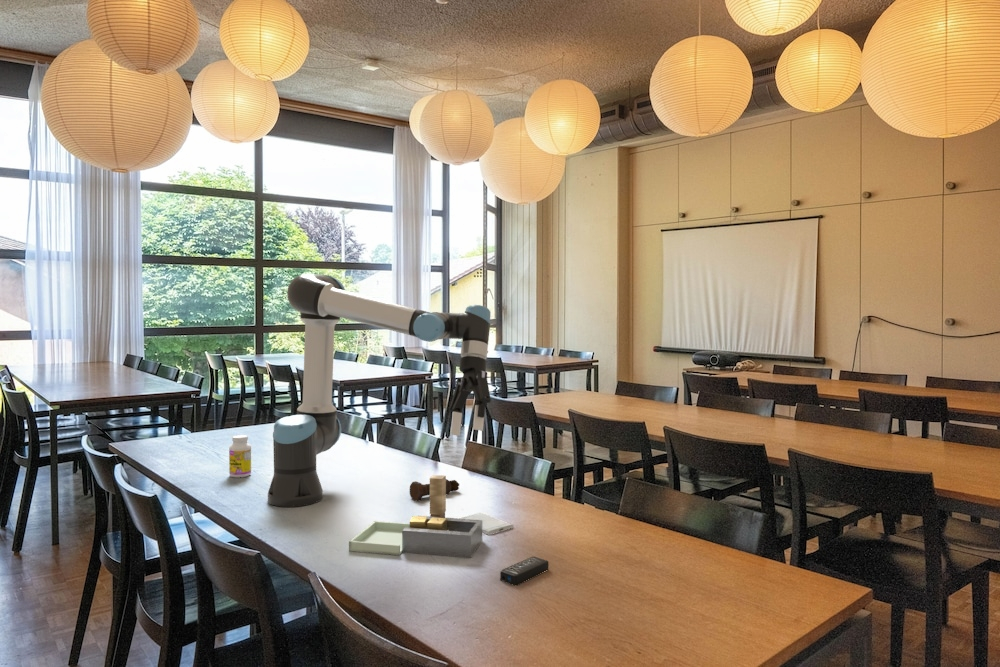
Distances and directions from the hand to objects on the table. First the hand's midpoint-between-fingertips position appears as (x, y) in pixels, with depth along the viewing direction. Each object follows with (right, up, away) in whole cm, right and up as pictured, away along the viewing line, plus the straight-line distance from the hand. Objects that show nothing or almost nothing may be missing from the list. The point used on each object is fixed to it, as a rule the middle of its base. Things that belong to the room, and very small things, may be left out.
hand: (466, 432), depth 187 cm
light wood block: (-10, -19, -29) cm, 36 cm away
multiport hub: (+14, -23, -46) cm, 54 cm away
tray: (-18, -22, -27) cm, 39 cm away
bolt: (-9, -21, +12) cm, 26 cm away
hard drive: (+6, -22, -14) cm, 27 cm away
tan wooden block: (-5, -19, -30) cm, 36 cm away
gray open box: (-4, -22, -30) cm, 37 cm away
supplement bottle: (-75, -19, +34) cm, 85 cm away
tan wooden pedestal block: (-6, -21, -17) cm, 28 cm away
